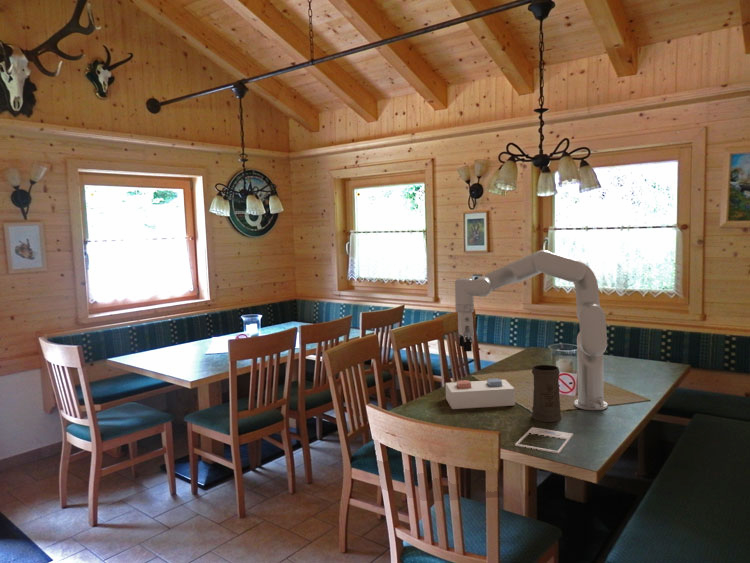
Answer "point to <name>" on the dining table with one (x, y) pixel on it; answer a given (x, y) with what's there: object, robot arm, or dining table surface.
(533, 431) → the photo frame
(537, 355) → the dining table surface
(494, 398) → the key console
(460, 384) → the red key
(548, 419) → the beer stein
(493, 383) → the blue key
